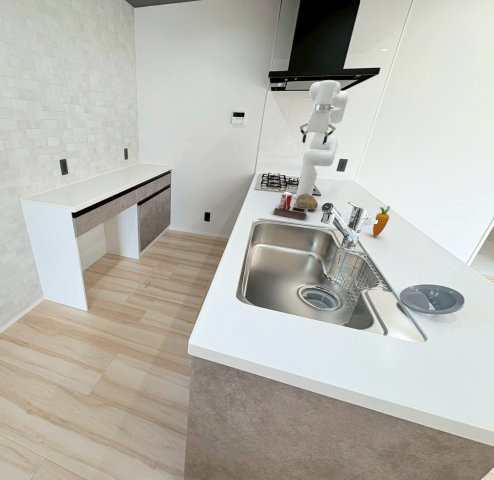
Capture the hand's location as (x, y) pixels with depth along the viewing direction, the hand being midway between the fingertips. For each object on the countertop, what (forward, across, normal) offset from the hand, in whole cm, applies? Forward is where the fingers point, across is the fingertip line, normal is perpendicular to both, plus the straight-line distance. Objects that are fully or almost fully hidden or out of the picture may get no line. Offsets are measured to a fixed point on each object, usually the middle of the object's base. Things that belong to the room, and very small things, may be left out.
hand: (313, 143), depth 141 cm
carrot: (+37, -37, +24) cm, 58 cm away
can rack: (+37, +2, +16) cm, 40 cm away
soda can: (+37, +6, +16) cm, 41 cm away
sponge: (+37, -4, -5) cm, 38 cm away
